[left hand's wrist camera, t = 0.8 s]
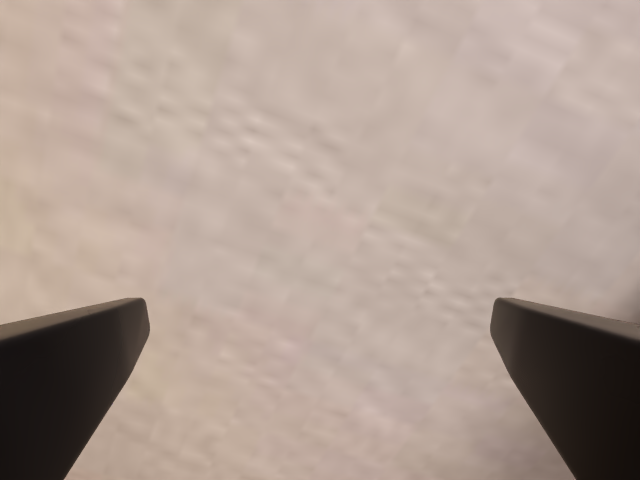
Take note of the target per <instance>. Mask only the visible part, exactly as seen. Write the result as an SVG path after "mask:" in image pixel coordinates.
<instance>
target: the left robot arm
mask: <svg viewBox="0 0 640 480" xmlns="http://www.w3.org/2000/svg"><path fill="white" fill-rule="evenodd" d="M149 332H150V325H149V318H148V312H147V306H146V302H145V300H144V299H143V298H125V299H120V300H116V301H111V302H106V303H101V304H97V305H92V306H87V307H83V308H78V309H73V310H68V311H64V312H59V313H54V314H50V315H45V316H40V317H35V318H31V319H26V320H21V321H17V322H12V323H7V324H2V325H0V480H64V479H65V477H66V475H67V474H68V472H69V471H70V469H71V468H72V466H73V464H74V463H75V461H76V460H77V458H78V457H79V455H80V453H81V452H82V450H83V449H84V447H85V446H86V444H87V443H88V441H89V439H90V438H91V436H92V435H93V433H94V432H95V430H96V428H97V427H98V425H99V424H100V422H101V421H102V419H103V418H104V416H105V414H106V413H107V411H108V410H109V408H110V407H111V405H112V403H113V402H114V400H115V399H116V397H117V396H118V394H119V393H120V391H121V389H122V388H123V386H124V385H125V383H126V381H127V380H128V378H129V376H130V374H131V373H132V371H133V369H134V366H135V364H136V362H137V360H138V358H139V356H140V354H141V352H142V349H143V347H144V345H145V343H146V341H147V339H148V336H149ZM490 332H491V336H492V339H493V341H494V343H495V345H496V347H497V349H498V352H499V354H500V356H501V358H502V360H503V362H504V364H505V366H506V369H507V371H508V373H509V374H510V376H511V378H512V380H513V381H514V383H515V385H516V386H517V388H518V389H519V391H520V393H521V394H522V396H523V397H524V399H525V400H526V402H527V403H528V405H529V407H530V408H531V410H532V411H533V413H534V414H535V416H536V418H537V419H538V421H539V422H540V424H541V425H542V427H543V428H544V430H545V432H546V433H547V435H548V436H549V438H550V439H551V441H552V443H553V444H554V446H555V447H556V449H557V450H558V452H559V453H560V455H561V457H562V458H563V460H564V461H565V463H566V464H567V466H568V468H569V469H570V471H571V472H572V474H573V475H574V477H575V478H576V480H640V325H638V324H633V323H628V322H624V321H619V320H614V319H609V318H605V317H600V316H595V315H591V314H586V313H581V312H576V311H572V310H567V309H562V308H557V307H553V306H548V305H543V304H539V303H534V302H529V301H524V300H520V299H515V298H497V299H496V300H495V302H494V306H493V312H492V318H491V325H490Z"/></svg>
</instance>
